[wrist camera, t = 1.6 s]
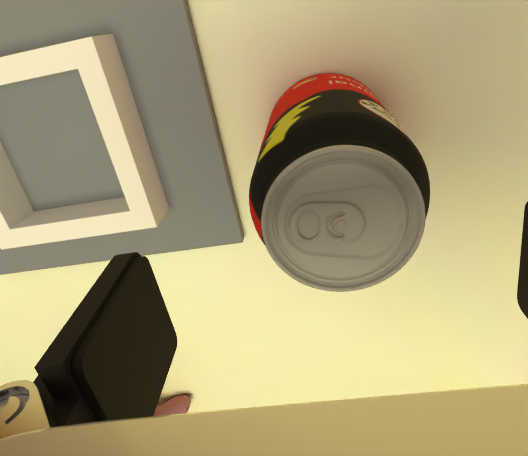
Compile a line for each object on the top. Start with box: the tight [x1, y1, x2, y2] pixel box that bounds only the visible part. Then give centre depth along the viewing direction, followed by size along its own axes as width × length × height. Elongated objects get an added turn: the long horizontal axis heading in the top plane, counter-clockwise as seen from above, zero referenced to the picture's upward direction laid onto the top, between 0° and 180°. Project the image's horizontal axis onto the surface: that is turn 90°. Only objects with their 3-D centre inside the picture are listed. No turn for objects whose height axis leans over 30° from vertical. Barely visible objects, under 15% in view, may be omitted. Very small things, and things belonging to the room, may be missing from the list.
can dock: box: [0, 0, 244, 275], centre depth 24 cm, size 18×16×3 cm
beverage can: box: [249, 74, 430, 292], centre depth 19 cm, size 6×6×12 cm
